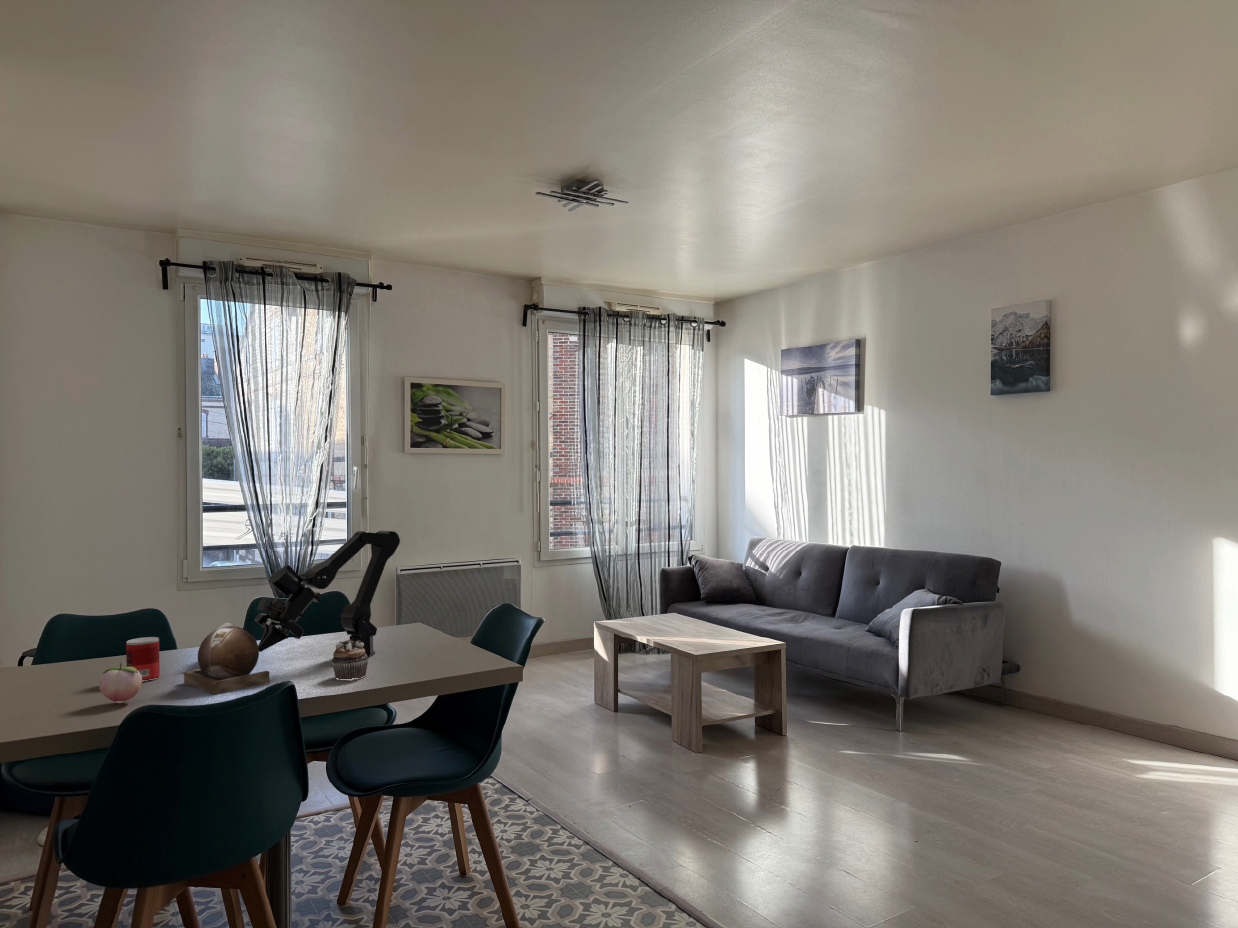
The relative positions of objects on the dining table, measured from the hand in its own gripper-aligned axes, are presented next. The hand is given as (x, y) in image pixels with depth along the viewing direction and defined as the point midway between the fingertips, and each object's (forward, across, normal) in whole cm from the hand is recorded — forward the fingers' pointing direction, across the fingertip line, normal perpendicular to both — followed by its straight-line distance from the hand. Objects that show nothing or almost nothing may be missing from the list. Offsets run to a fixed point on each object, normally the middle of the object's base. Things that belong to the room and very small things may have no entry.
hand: (258, 650), depth 237 cm
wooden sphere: (+11, 0, -1) cm, 11 cm away
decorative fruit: (+29, -1, -19) cm, 35 cm away
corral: (+11, 0, -1) cm, 11 cm away
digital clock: (+3, -27, +8) cm, 28 cm away
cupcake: (-5, +22, +16) cm, 28 cm away
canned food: (+20, -23, -10) cm, 32 cm away
